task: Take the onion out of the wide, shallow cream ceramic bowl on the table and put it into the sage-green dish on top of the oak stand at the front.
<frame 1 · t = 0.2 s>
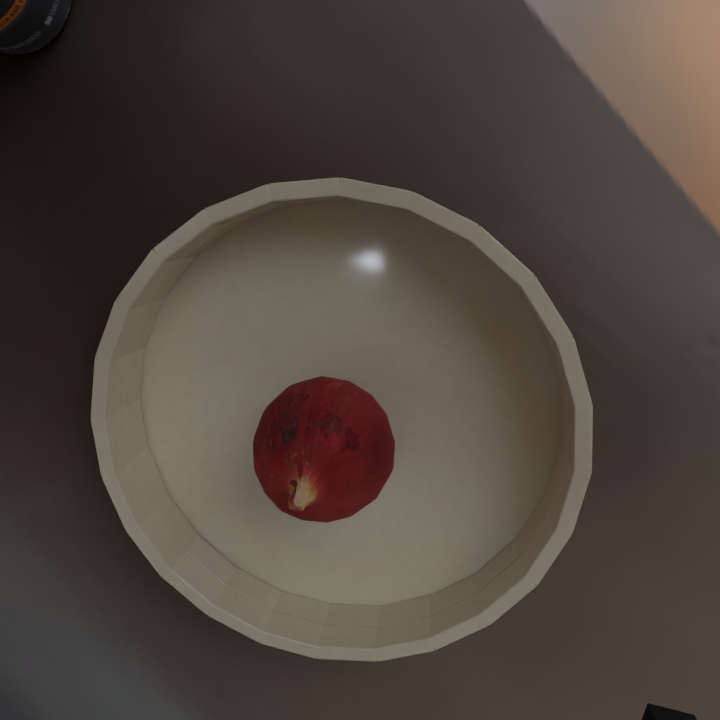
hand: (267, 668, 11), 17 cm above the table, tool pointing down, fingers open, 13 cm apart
onion: (341, 417, 28), resting on cream bowl
cream bowl: (341, 416, 28), on the table
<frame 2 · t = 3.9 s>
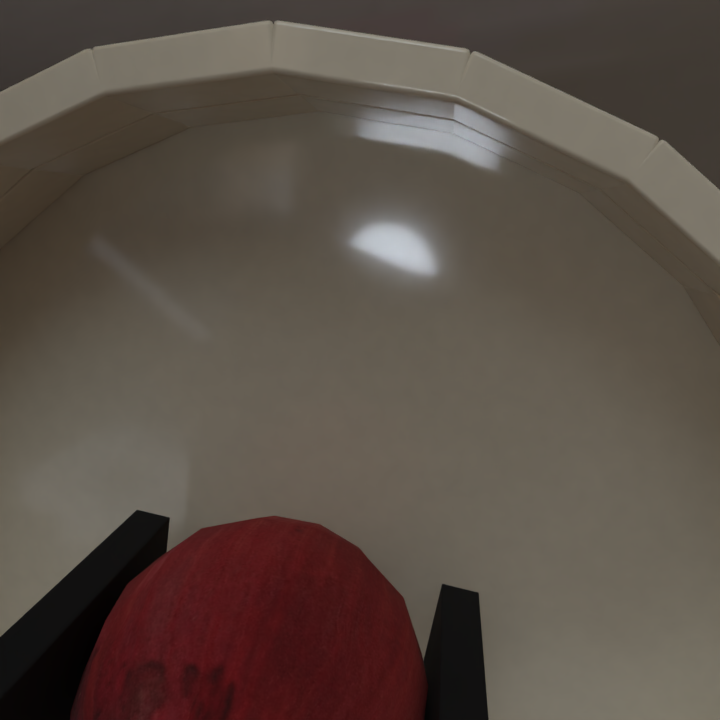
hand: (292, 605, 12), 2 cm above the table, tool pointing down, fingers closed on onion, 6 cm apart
onion: (309, 564, 14), resting on cream bowl, touching gripper
cream bowl: (311, 561, 14), on the table
when the fingers open (20 cm above the table, at t = 10.7 s): onion stays where it is, resting on stand.
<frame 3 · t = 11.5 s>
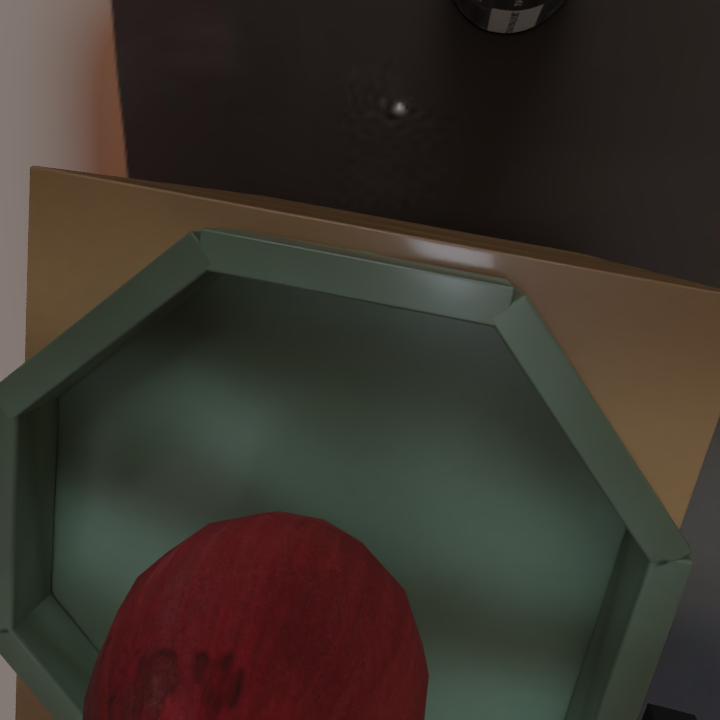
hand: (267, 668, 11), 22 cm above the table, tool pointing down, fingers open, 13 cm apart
stand: (388, 371, 32), on the table
onion: (313, 559, 14), point 18 cm above the table, touching stand
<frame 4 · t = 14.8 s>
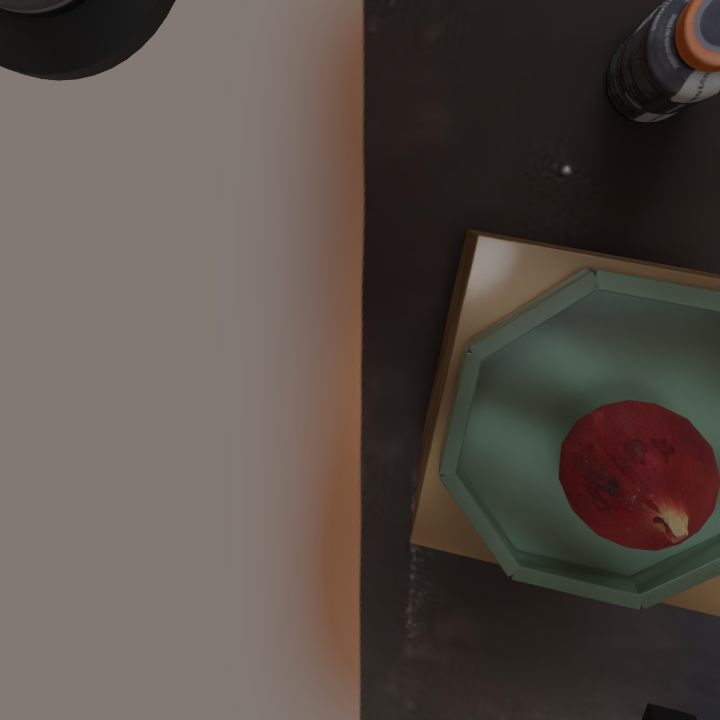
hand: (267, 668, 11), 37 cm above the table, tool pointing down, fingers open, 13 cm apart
pill bottle: (650, 77, 40), on the table
stand: (547, 352, 45), on the table
onion: (609, 438, 27), point 18 cm above the table, touching stand
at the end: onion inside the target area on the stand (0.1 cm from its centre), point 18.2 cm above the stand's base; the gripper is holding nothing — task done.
